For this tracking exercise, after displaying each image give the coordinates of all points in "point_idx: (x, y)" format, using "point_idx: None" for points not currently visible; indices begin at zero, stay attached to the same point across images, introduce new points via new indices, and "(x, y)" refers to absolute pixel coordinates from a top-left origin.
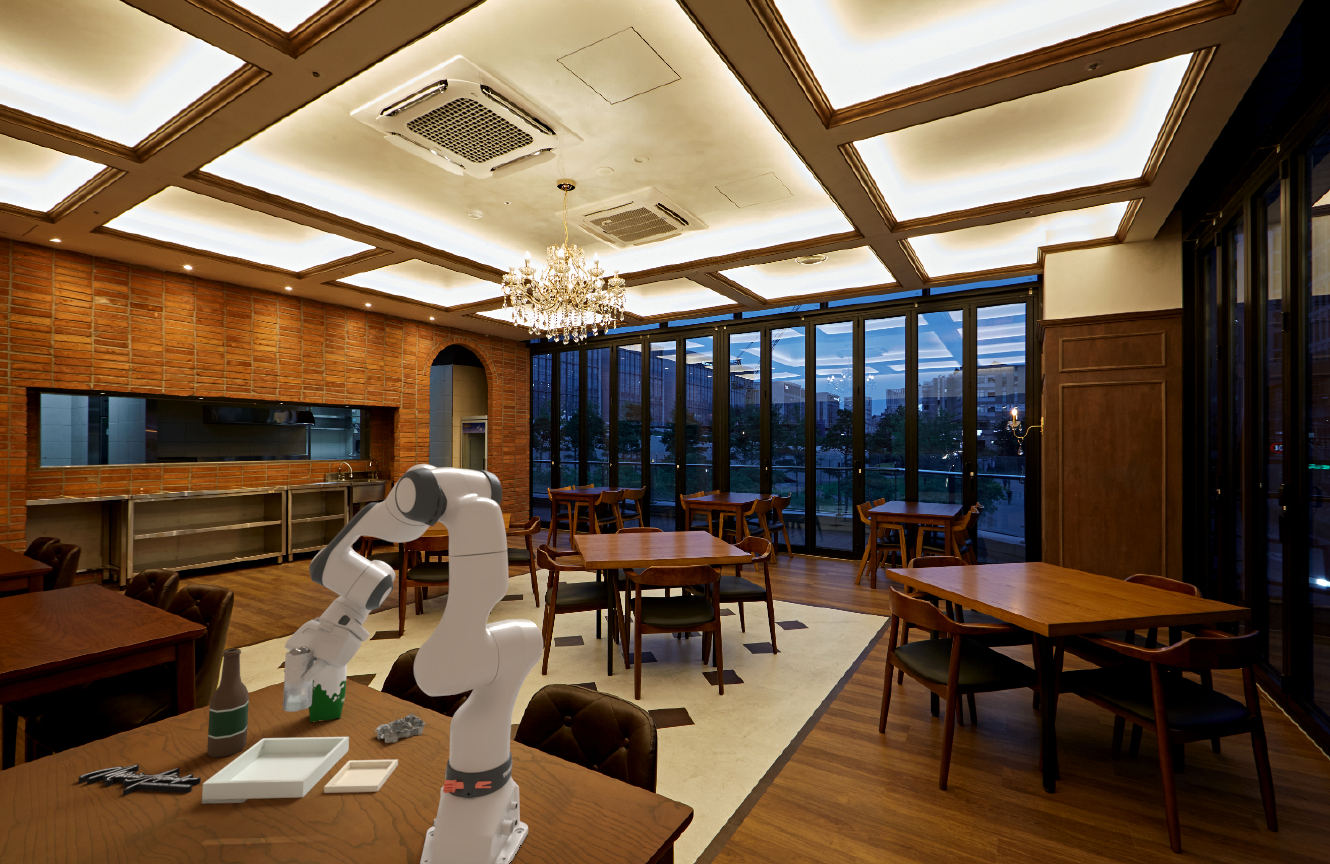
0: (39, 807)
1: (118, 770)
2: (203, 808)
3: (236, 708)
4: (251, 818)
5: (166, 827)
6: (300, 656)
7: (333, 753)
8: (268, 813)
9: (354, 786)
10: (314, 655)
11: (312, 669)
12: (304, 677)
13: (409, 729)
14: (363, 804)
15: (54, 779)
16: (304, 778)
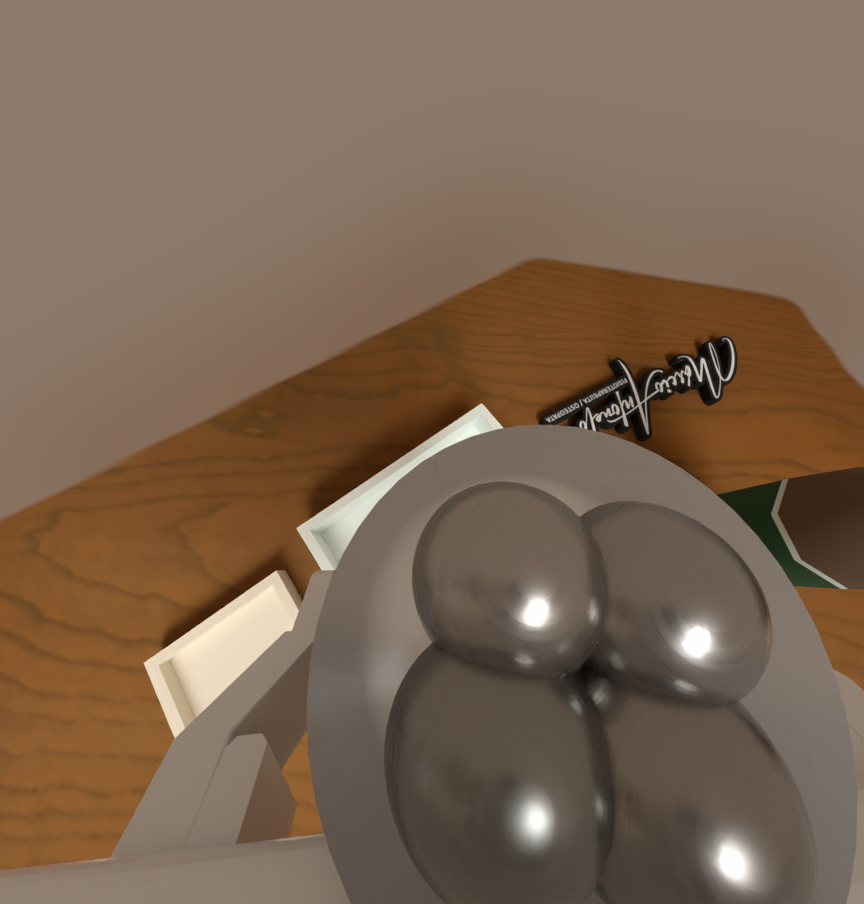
0: (656, 296)
1: (715, 376)
2: (453, 416)
3: (780, 529)
4: (341, 447)
5: (438, 365)
6: (347, 559)
7: None
8: (329, 472)
9: (206, 619)
10: (291, 853)
11: (263, 659)
12: (315, 572)
13: None
14: (165, 608)
15: (754, 327)
16: (307, 536)
